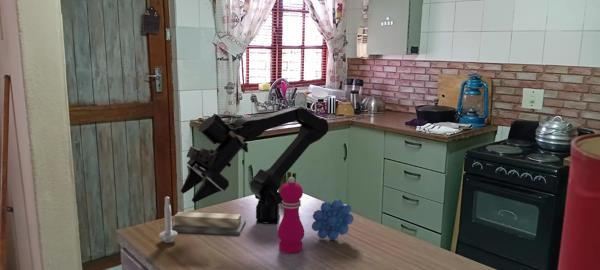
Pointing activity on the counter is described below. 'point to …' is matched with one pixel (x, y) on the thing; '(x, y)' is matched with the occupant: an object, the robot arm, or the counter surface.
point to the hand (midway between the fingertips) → (187, 196)
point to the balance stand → (208, 223)
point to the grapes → (332, 219)
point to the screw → (168, 224)
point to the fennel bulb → (286, 179)
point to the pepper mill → (291, 218)
